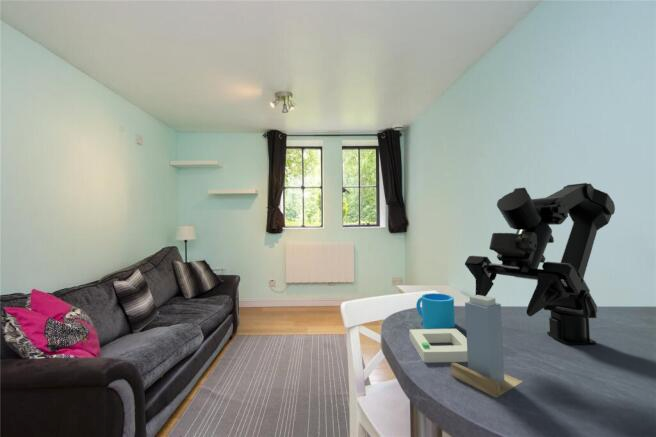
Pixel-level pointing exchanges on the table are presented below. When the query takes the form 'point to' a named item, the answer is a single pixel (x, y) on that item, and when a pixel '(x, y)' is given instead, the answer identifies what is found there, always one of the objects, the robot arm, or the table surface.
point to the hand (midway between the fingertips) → (500, 308)
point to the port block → (439, 353)
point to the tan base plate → (484, 380)
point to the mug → (437, 311)
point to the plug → (484, 337)
